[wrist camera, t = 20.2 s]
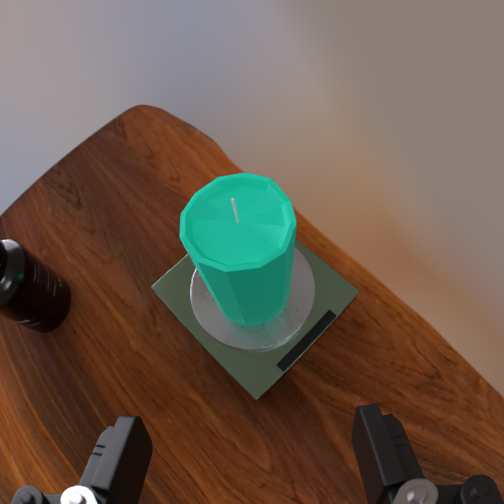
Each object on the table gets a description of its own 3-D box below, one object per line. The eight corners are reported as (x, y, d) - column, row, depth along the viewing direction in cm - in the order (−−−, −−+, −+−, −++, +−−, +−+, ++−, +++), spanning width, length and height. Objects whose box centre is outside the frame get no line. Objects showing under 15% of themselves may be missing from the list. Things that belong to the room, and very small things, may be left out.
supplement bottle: (36, 345, 28) (-45, 309, 17) (22, 295, 30) (-49, 248, 20) (81, 313, 29) (3, 263, 18) (62, 263, 32) (-4, 204, 21)
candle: (229, 337, 24) (190, 279, 13) (204, 271, 27) (158, 178, 16) (302, 307, 25) (321, 227, 14) (271, 244, 27) (266, 138, 17)
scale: (353, 300, 28) (362, 287, 25) (258, 400, 25) (255, 400, 22) (251, 214, 33) (249, 195, 30) (159, 296, 29) (147, 283, 26)
